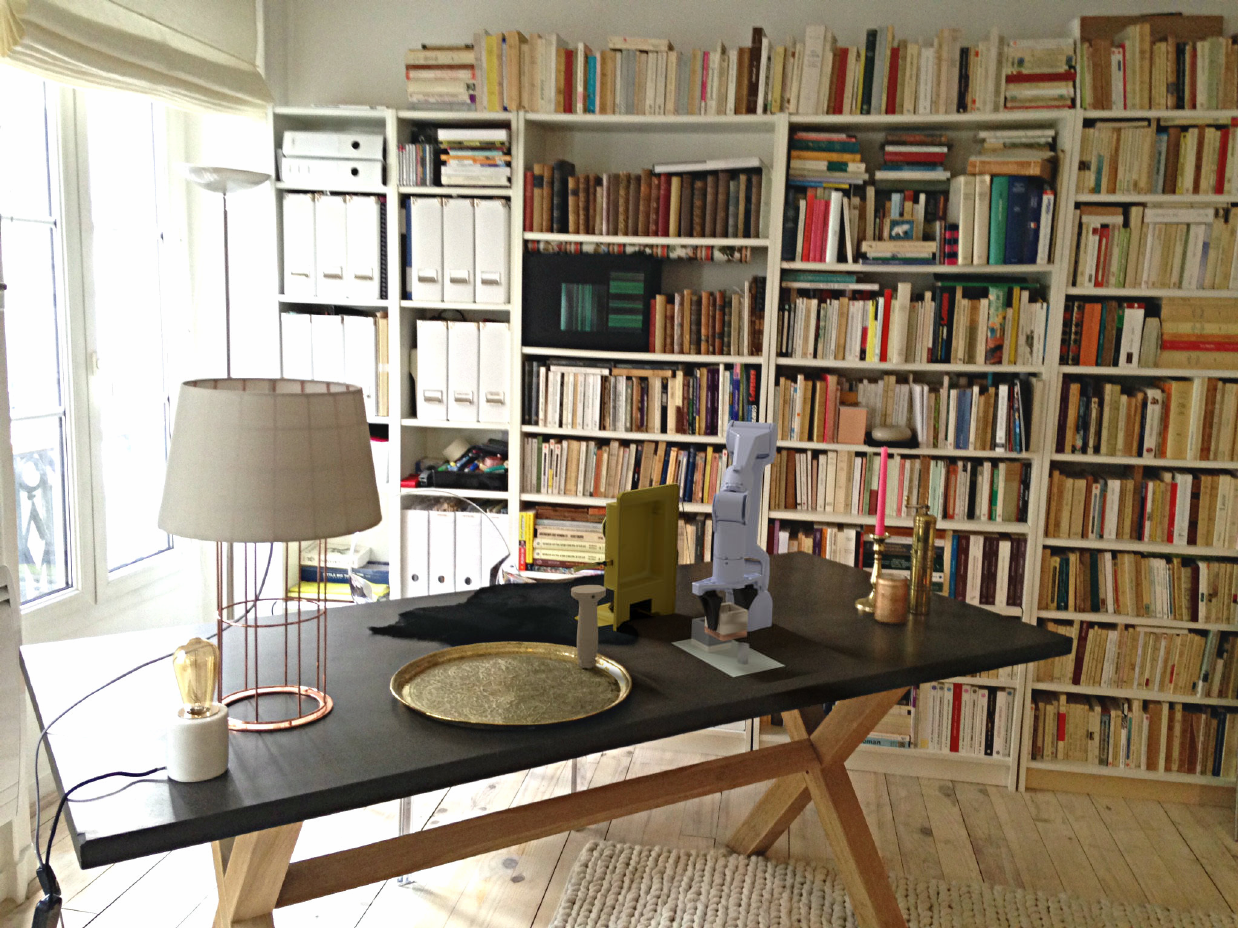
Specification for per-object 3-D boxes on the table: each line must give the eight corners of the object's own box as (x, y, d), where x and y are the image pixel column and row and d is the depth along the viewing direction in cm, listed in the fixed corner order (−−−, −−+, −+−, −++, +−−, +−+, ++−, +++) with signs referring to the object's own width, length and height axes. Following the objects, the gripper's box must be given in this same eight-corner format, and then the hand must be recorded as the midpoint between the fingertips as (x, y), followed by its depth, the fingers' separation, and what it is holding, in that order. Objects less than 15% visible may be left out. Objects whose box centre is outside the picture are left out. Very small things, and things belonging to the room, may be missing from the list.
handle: (607, 668, 188) (609, 590, 186) (575, 672, 186) (576, 594, 183) (597, 659, 193) (599, 583, 190) (566, 663, 190) (567, 586, 188)
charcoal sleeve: (714, 639, 201) (715, 615, 200) (731, 647, 197) (732, 623, 196) (691, 643, 198) (692, 619, 198) (707, 652, 194) (709, 627, 193)
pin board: (720, 640, 205) (721, 616, 204) (784, 673, 188) (786, 647, 187) (671, 649, 199) (672, 625, 198) (733, 684, 182) (734, 658, 181)
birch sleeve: (728, 627, 192) (729, 602, 191) (746, 636, 187) (748, 610, 186) (704, 631, 189) (705, 606, 188) (722, 640, 184) (723, 614, 183)
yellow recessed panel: (653, 597, 233) (657, 469, 227) (699, 612, 223) (704, 478, 218) (550, 627, 211) (552, 485, 206) (596, 644, 201) (600, 496, 196)
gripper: (709, 565, 179) (706, 639, 181) (773, 556, 186) (770, 627, 188) (687, 556, 184) (684, 627, 187) (750, 547, 192) (747, 616, 194)
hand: (725, 626), depth 188 cm, fingers closed on birch sleeve, 6 cm apart
